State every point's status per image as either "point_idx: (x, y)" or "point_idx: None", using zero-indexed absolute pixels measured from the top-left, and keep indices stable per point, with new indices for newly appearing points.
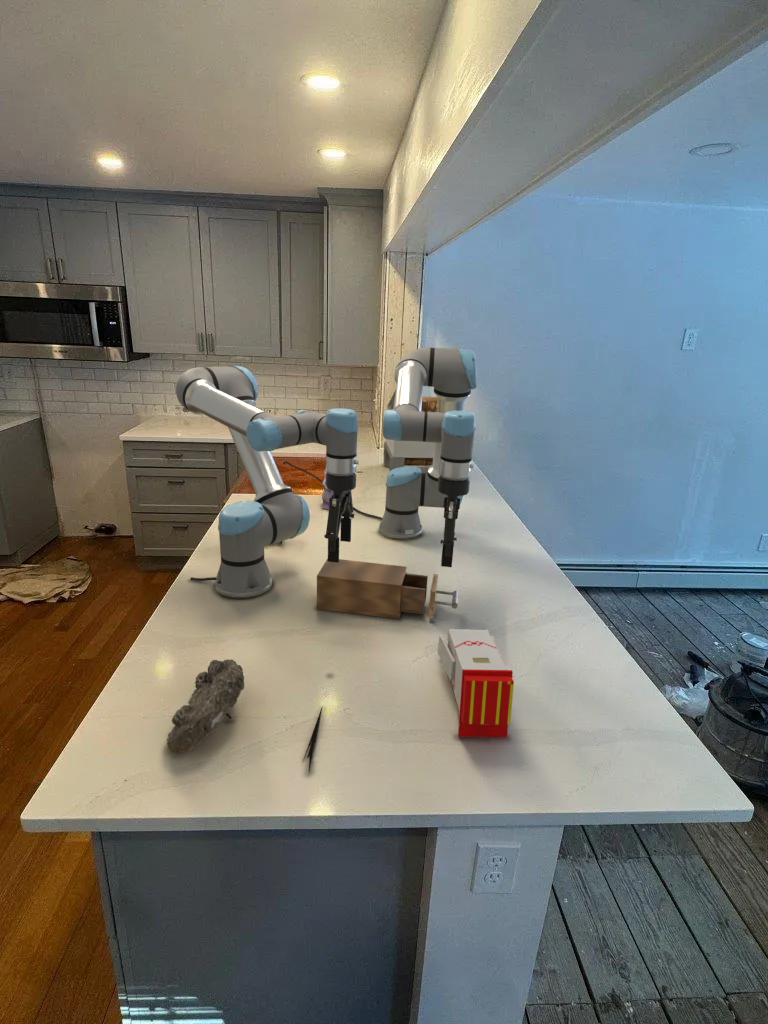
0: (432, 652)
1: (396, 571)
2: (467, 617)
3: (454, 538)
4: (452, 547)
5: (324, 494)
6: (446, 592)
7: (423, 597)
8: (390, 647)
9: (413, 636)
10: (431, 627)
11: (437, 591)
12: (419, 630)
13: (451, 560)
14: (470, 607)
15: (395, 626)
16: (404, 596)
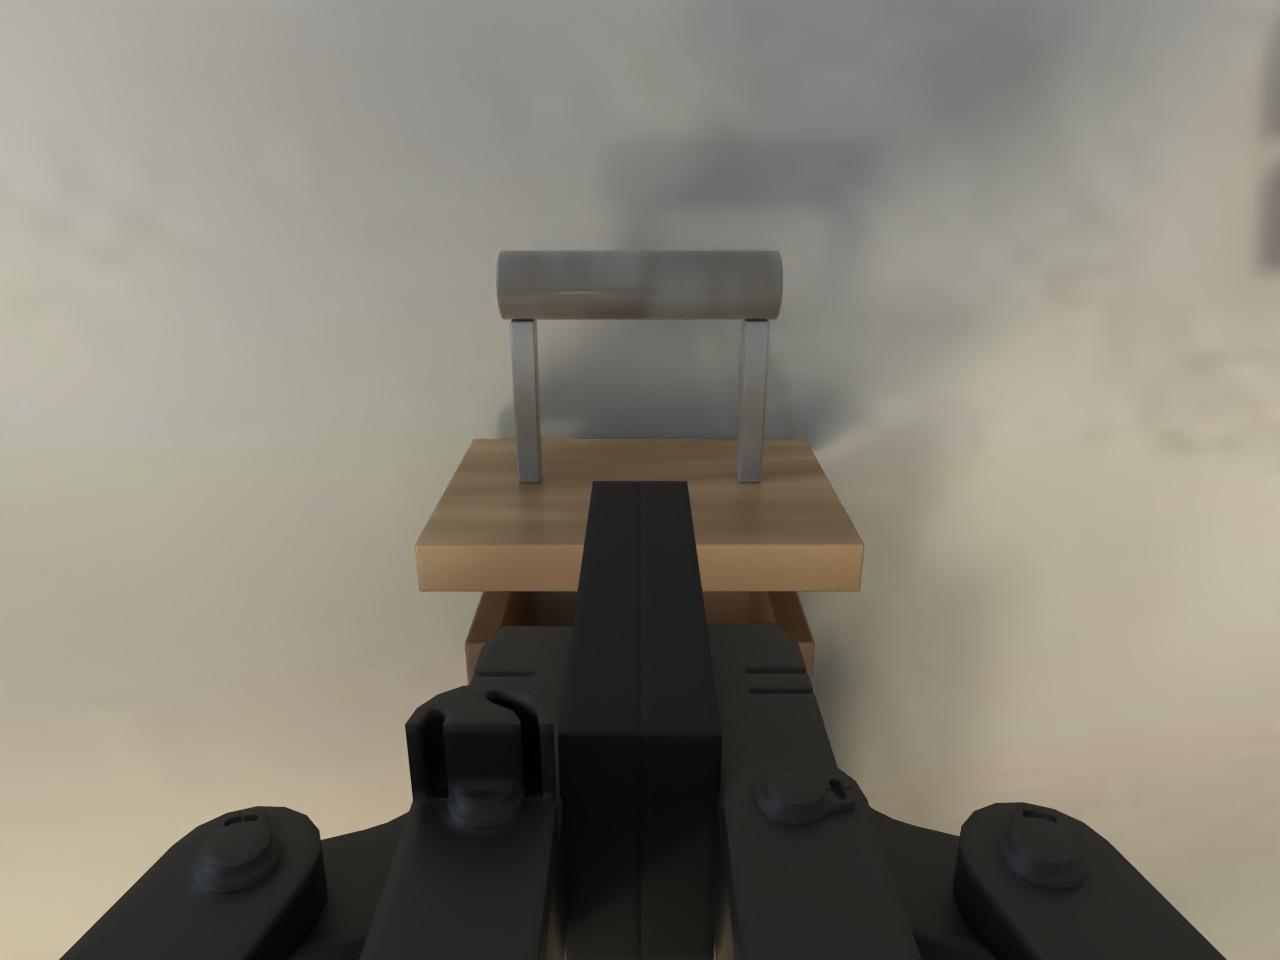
0: (1243, 396)
1: (565, 949)
2: (661, 130)
3: (502, 783)
4: (709, 692)
5: None
6: (534, 385)
7: (797, 605)
8: (1182, 671)
9: (1031, 547)
10: (885, 431)
11: (539, 473)
12: (942, 514)
13: (691, 543)
14: (461, 105)
15: (908, 676)
16: None
